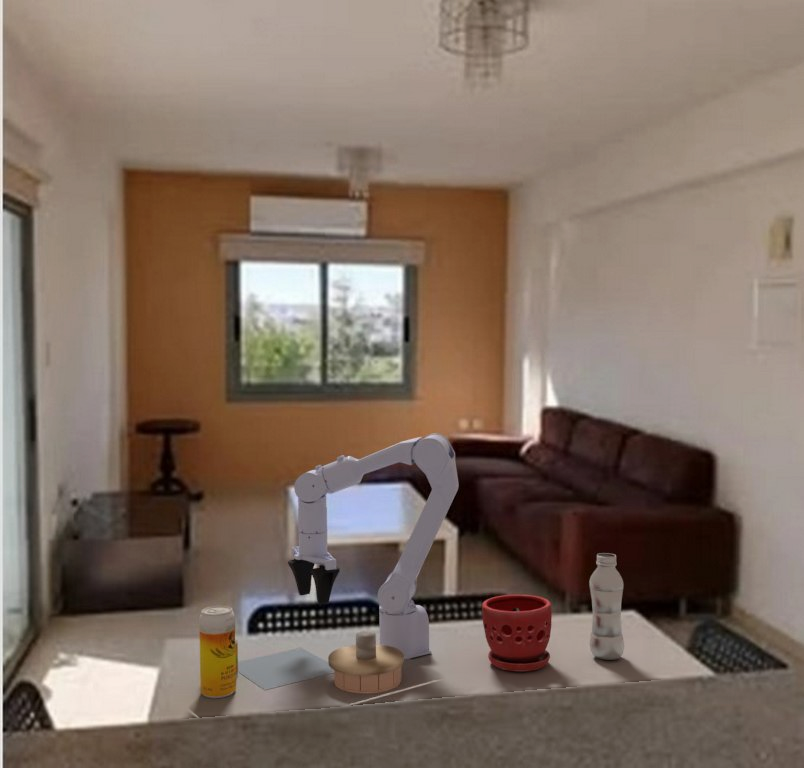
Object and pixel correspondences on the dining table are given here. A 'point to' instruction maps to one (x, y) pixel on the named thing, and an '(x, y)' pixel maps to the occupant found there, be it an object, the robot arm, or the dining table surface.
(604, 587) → the plastic bottle
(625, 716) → the dining table surface
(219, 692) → the beer can
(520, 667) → the plant pot
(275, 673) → the mat
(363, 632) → the lid
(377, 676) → the bowl
